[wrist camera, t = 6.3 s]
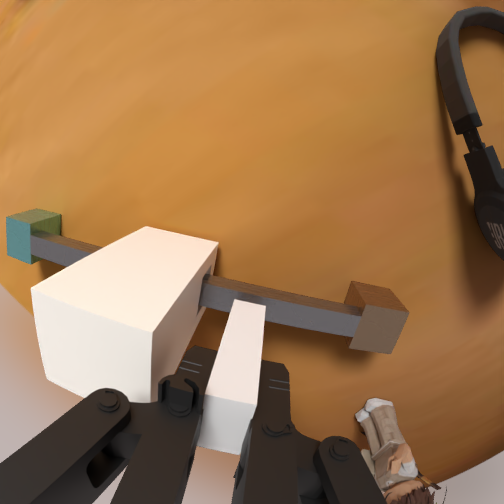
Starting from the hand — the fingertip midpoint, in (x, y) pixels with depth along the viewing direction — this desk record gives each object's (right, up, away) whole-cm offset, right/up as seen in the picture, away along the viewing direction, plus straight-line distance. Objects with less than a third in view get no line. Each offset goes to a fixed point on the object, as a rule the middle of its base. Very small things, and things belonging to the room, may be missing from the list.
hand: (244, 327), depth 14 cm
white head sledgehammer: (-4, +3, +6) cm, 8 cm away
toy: (+11, -11, +9) cm, 17 cm away
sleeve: (-5, +3, +5) cm, 8 cm away
